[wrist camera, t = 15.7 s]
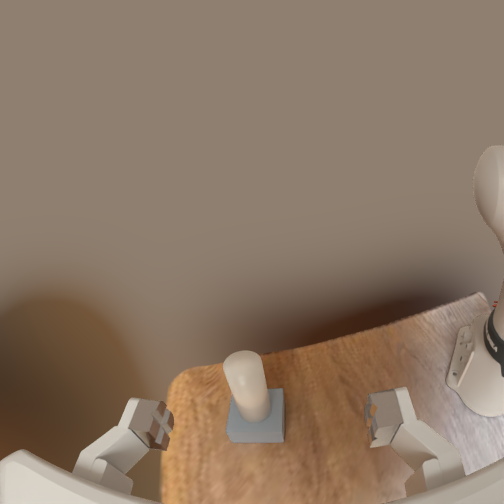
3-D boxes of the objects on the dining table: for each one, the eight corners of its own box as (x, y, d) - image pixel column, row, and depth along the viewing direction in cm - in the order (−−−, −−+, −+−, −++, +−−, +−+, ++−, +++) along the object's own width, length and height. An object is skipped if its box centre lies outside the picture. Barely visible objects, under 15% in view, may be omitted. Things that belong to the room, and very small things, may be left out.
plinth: (237, 402, 44) (232, 389, 43) (284, 401, 43) (282, 388, 42) (231, 442, 37) (225, 431, 36) (284, 442, 36) (281, 431, 34)
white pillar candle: (249, 393, 42) (236, 346, 37) (277, 403, 39) (268, 356, 34) (233, 415, 38) (215, 371, 33) (261, 427, 36) (249, 384, 31)
